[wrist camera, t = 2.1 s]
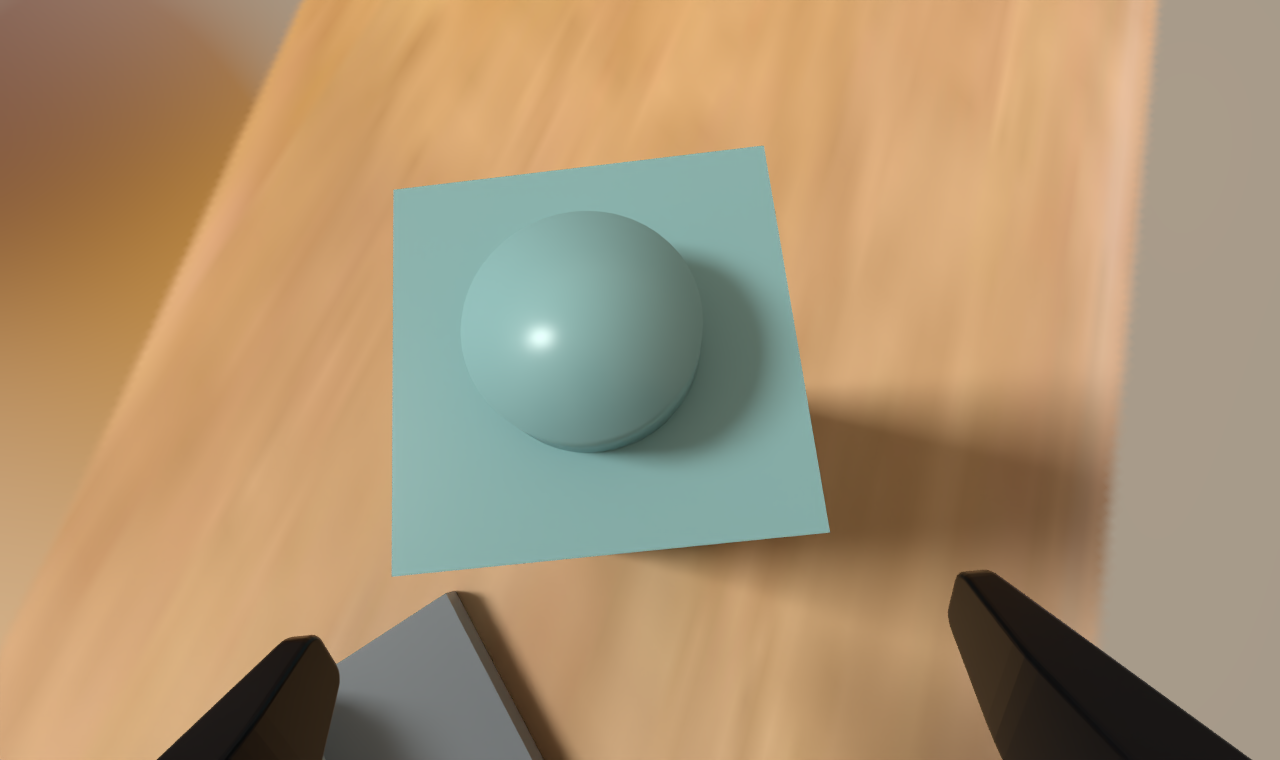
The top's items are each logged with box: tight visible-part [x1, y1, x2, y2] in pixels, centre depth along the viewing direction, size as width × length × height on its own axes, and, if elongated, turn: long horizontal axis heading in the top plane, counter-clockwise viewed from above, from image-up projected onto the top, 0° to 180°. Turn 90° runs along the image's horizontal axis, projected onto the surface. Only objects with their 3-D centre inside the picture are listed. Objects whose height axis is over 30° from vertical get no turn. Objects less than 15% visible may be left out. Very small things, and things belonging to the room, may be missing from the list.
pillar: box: [392, 146, 830, 576], centre depth 13 cm, size 4×4×14 cm
